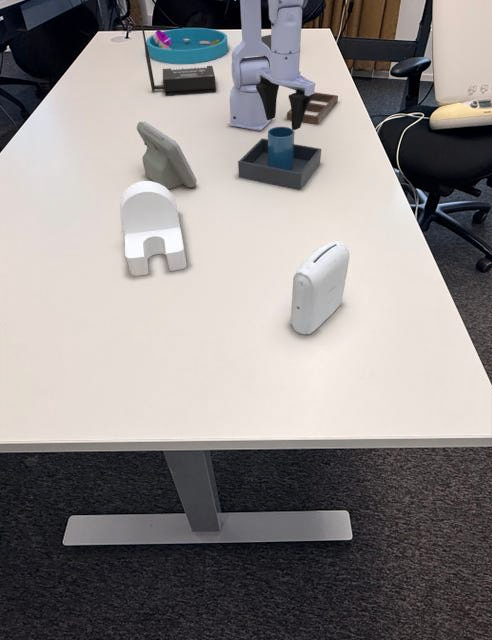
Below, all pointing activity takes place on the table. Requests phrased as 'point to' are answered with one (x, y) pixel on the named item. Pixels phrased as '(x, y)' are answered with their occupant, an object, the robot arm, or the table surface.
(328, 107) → the rack
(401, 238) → the table surface
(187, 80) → the wireless controller
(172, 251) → the bracket
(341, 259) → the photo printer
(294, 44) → the robot arm
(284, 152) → the cup
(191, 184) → the digital clock
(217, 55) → the teal round tray
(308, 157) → the dark grey tray
